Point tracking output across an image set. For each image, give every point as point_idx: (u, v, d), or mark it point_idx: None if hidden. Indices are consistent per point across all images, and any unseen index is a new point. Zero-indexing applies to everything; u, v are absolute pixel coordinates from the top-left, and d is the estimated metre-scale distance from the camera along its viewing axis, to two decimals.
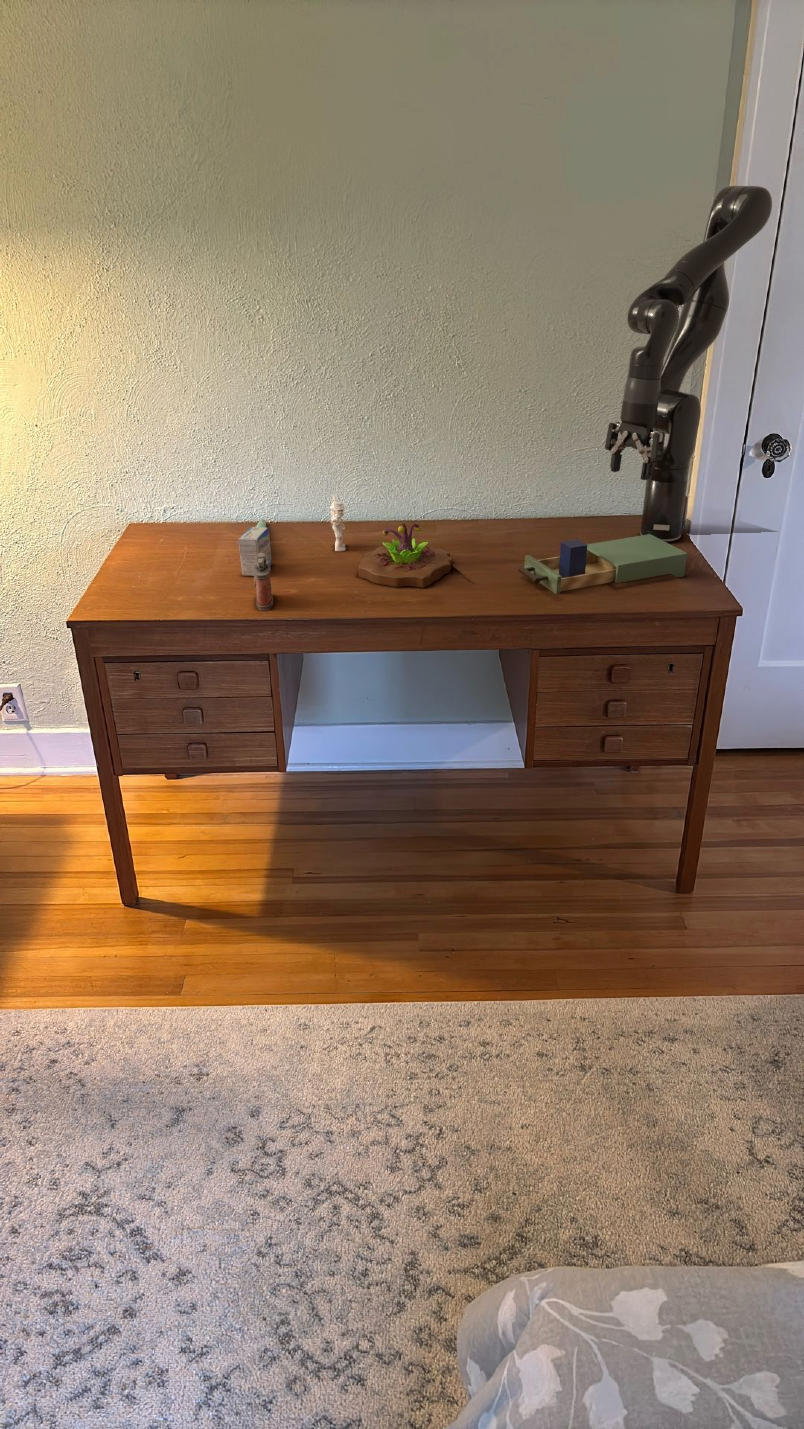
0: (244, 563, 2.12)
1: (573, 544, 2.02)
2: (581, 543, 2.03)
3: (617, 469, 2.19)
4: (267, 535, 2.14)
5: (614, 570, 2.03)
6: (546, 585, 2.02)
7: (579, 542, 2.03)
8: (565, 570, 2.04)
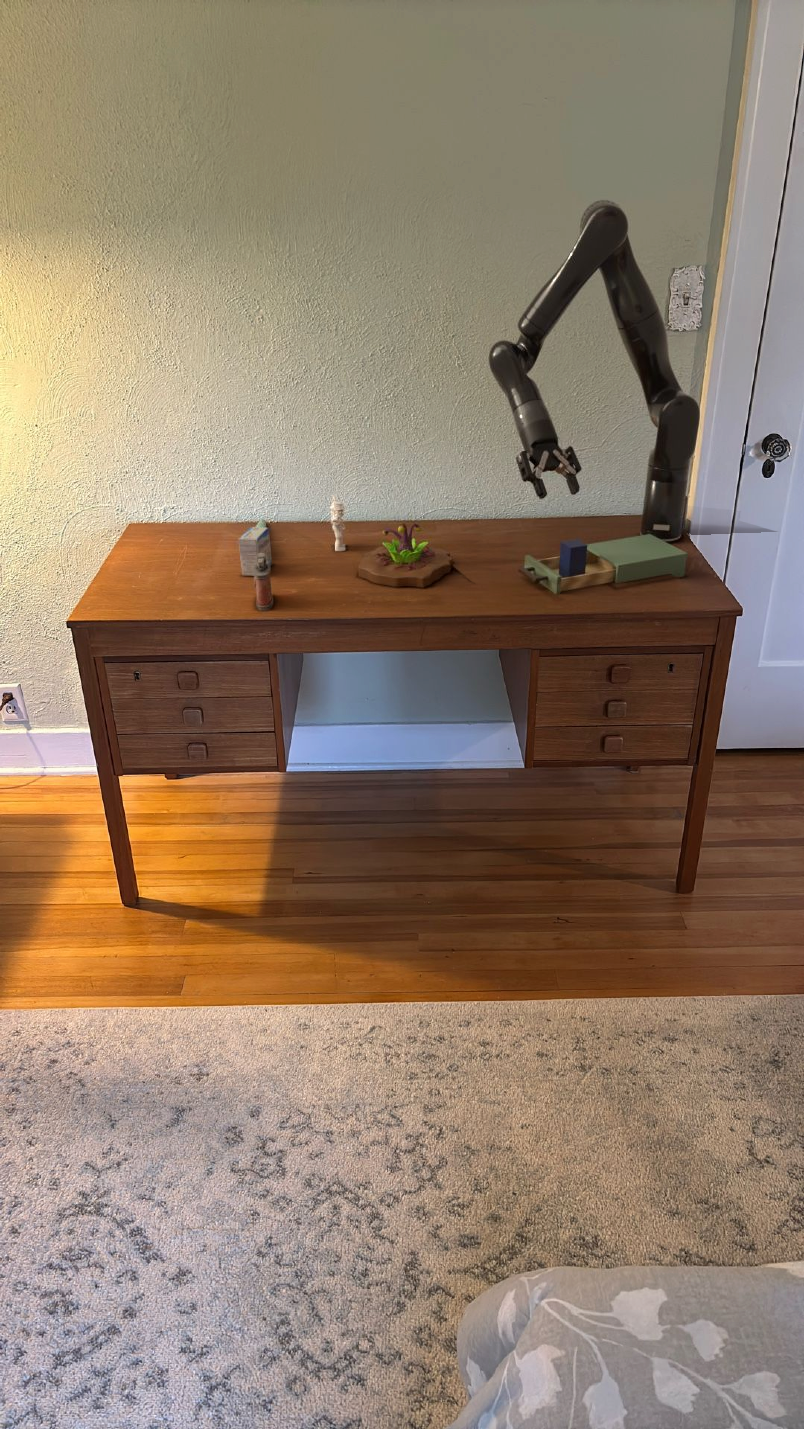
0: (244, 563, 2.12)
1: (573, 544, 2.02)
2: (581, 543, 2.03)
3: (574, 490, 2.10)
4: (267, 535, 2.14)
5: (614, 570, 2.03)
6: (546, 585, 2.02)
7: (579, 542, 2.03)
8: (565, 570, 2.04)
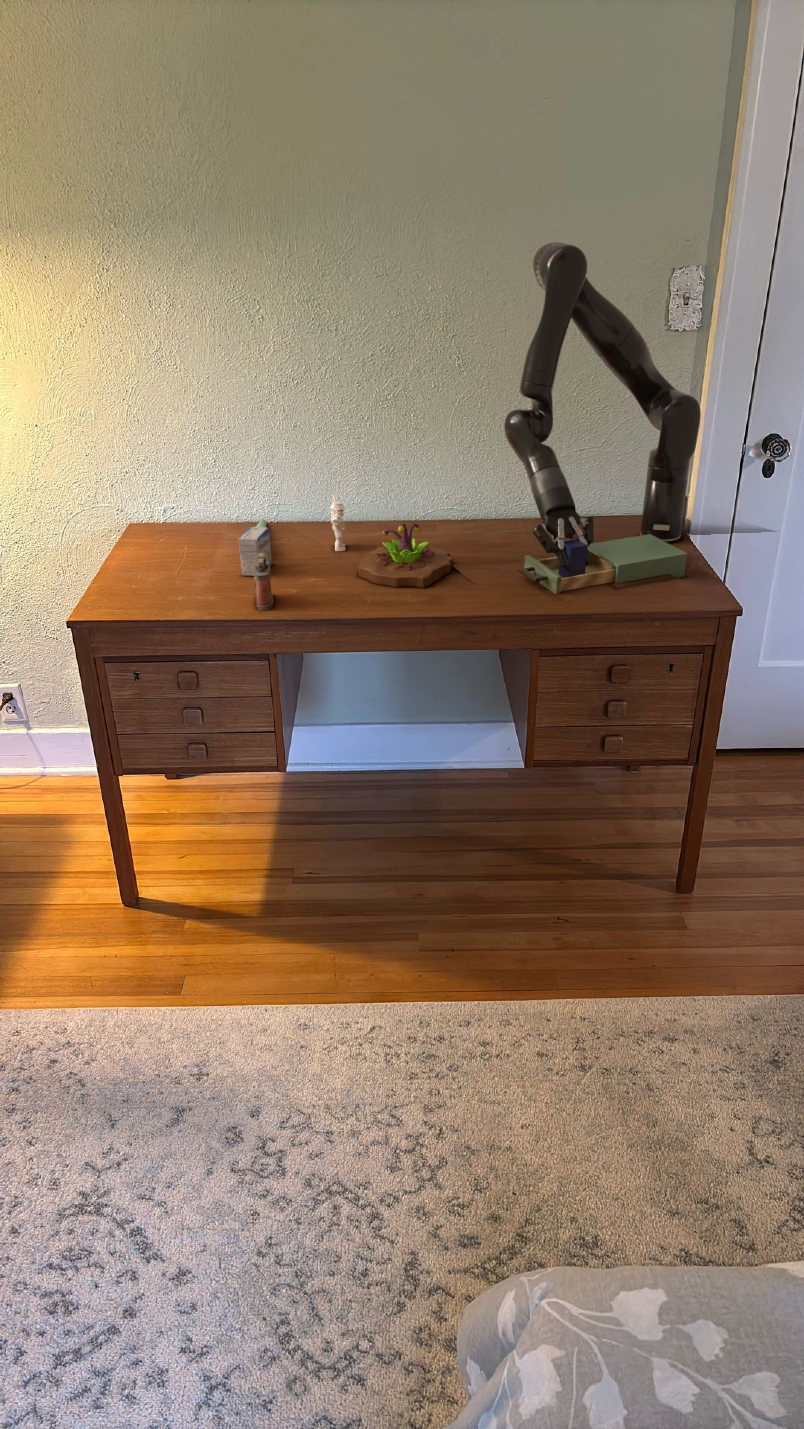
0: (244, 563, 2.12)
1: (573, 544, 2.02)
2: (581, 543, 2.03)
3: None
4: (267, 535, 2.14)
5: (614, 570, 2.03)
6: (546, 585, 2.02)
7: (579, 542, 2.03)
8: (565, 570, 2.04)
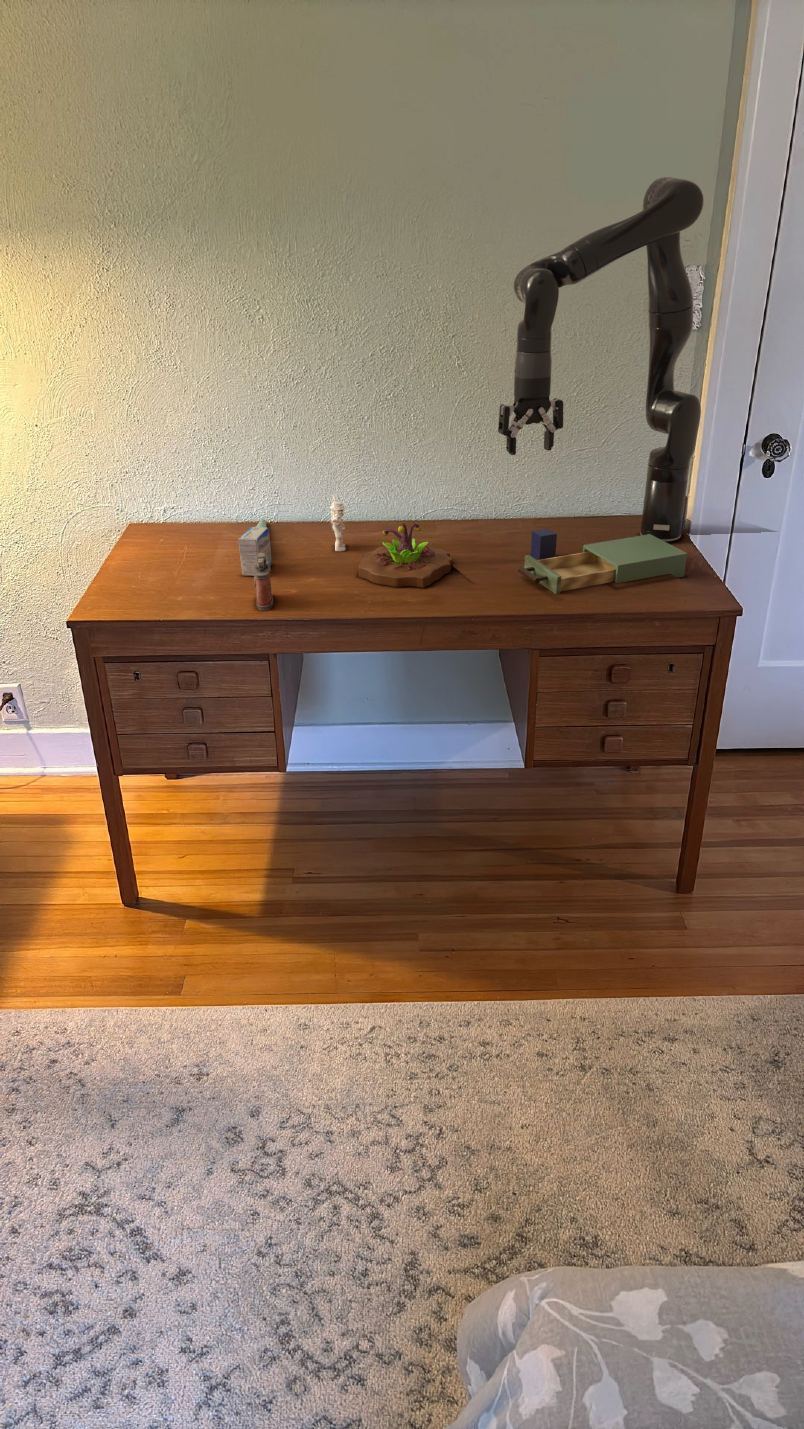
0: (244, 563, 2.12)
1: (543, 533, 2.13)
2: (551, 532, 2.13)
3: (546, 448, 2.10)
4: (267, 535, 2.14)
5: (614, 570, 2.03)
6: (546, 585, 2.02)
7: (549, 531, 2.14)
8: (536, 558, 2.15)
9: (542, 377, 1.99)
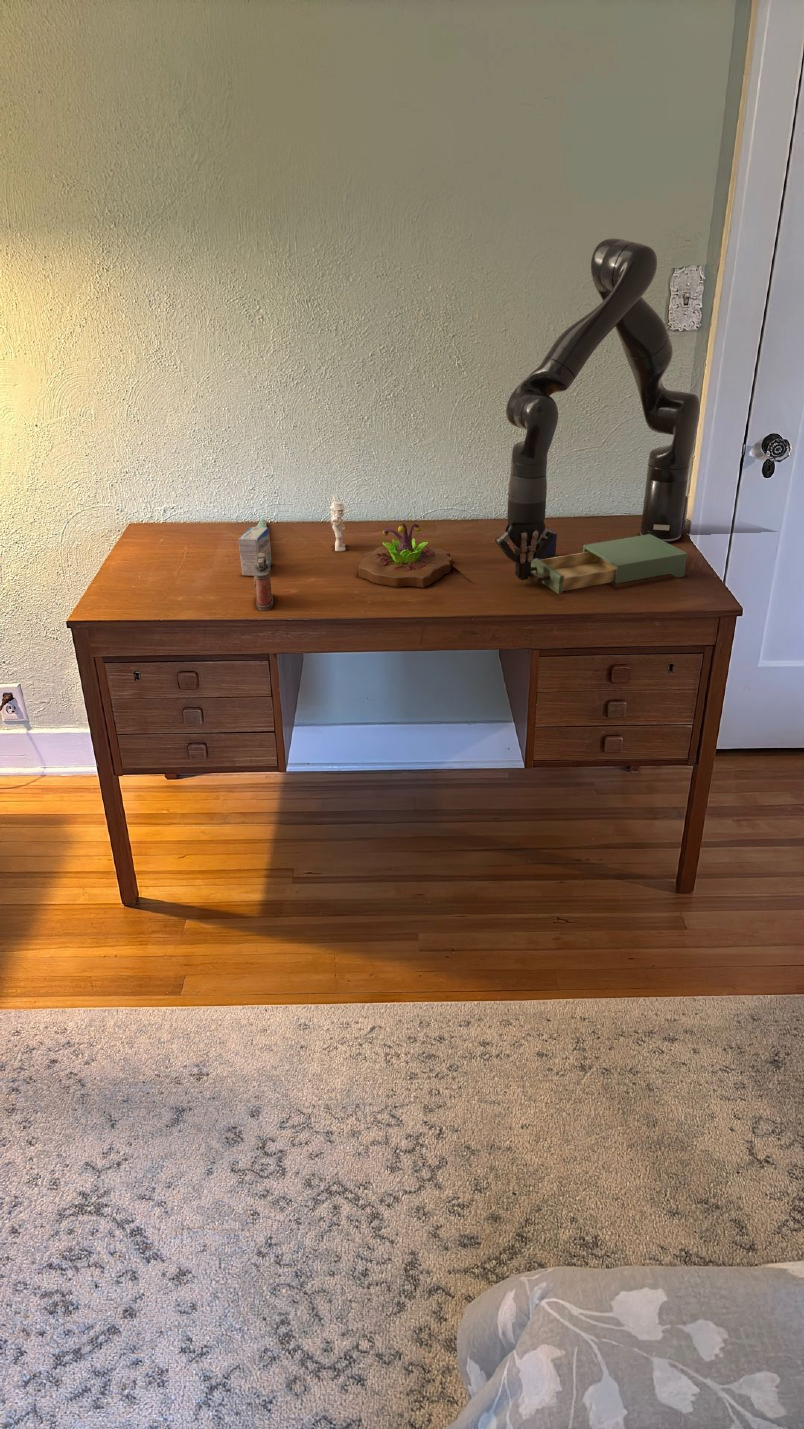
0: (244, 563, 2.12)
1: None
2: None
3: None
4: (267, 535, 2.14)
5: None
6: (548, 585, 2.02)
7: None
8: None
9: (537, 502, 1.91)
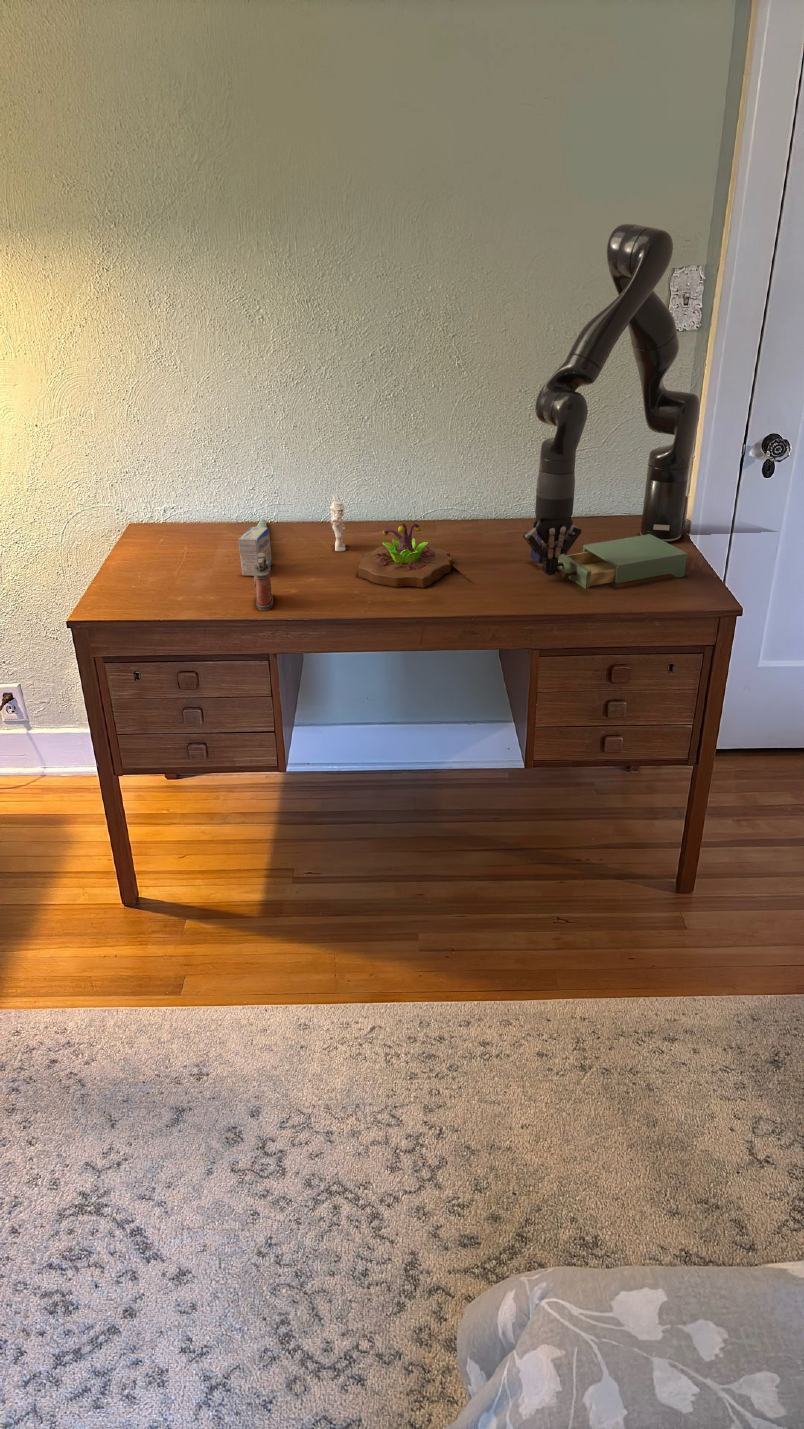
0: (244, 563, 2.12)
1: None
2: None
3: None
4: (267, 535, 2.14)
5: None
6: (575, 580, 2.04)
7: None
8: (536, 558, 2.15)
9: (565, 498, 1.93)
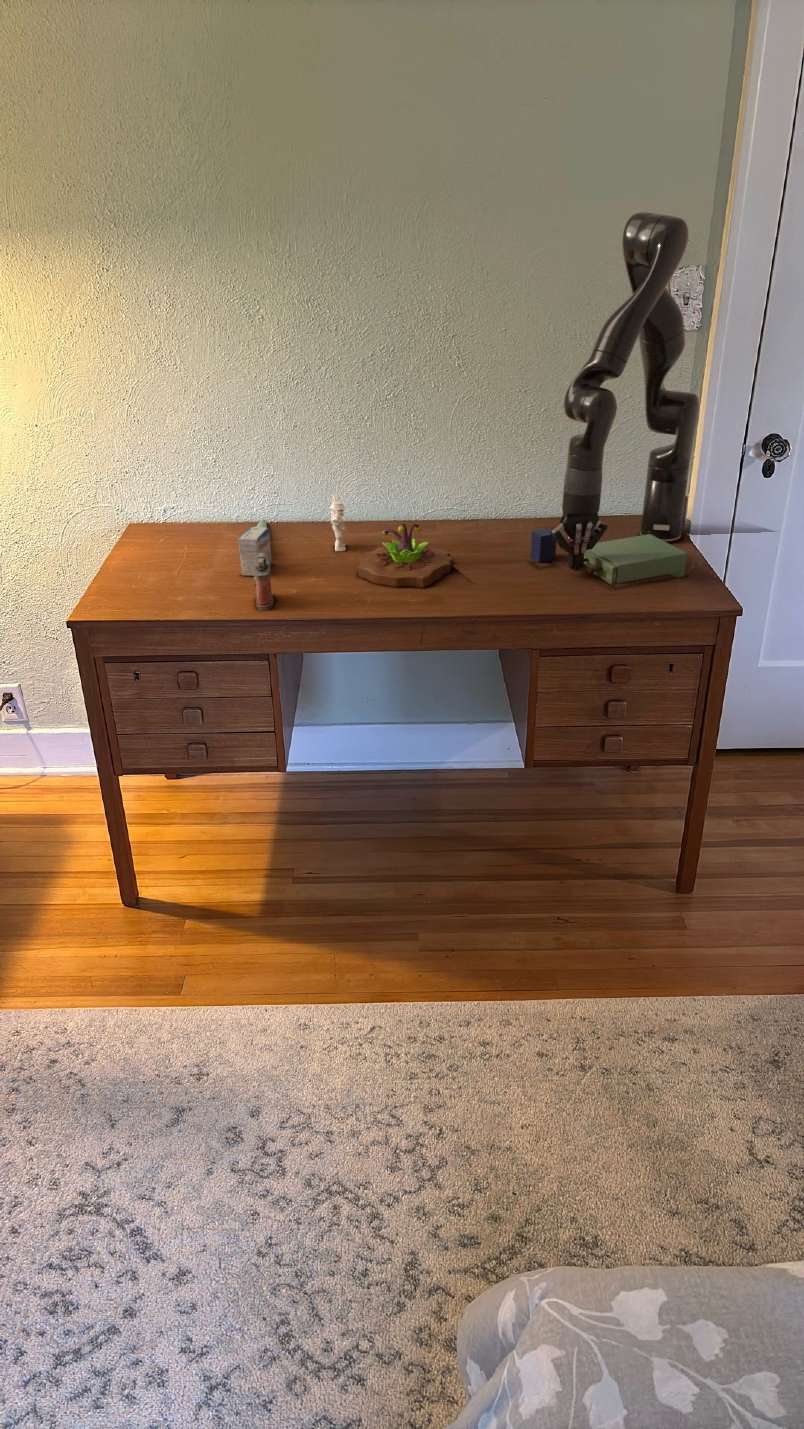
0: (244, 563, 2.12)
1: (543, 533, 2.13)
2: None
3: None
4: (267, 535, 2.14)
5: None
6: (600, 575, 2.06)
7: (549, 531, 2.14)
8: (536, 558, 2.15)
9: (593, 494, 1.95)
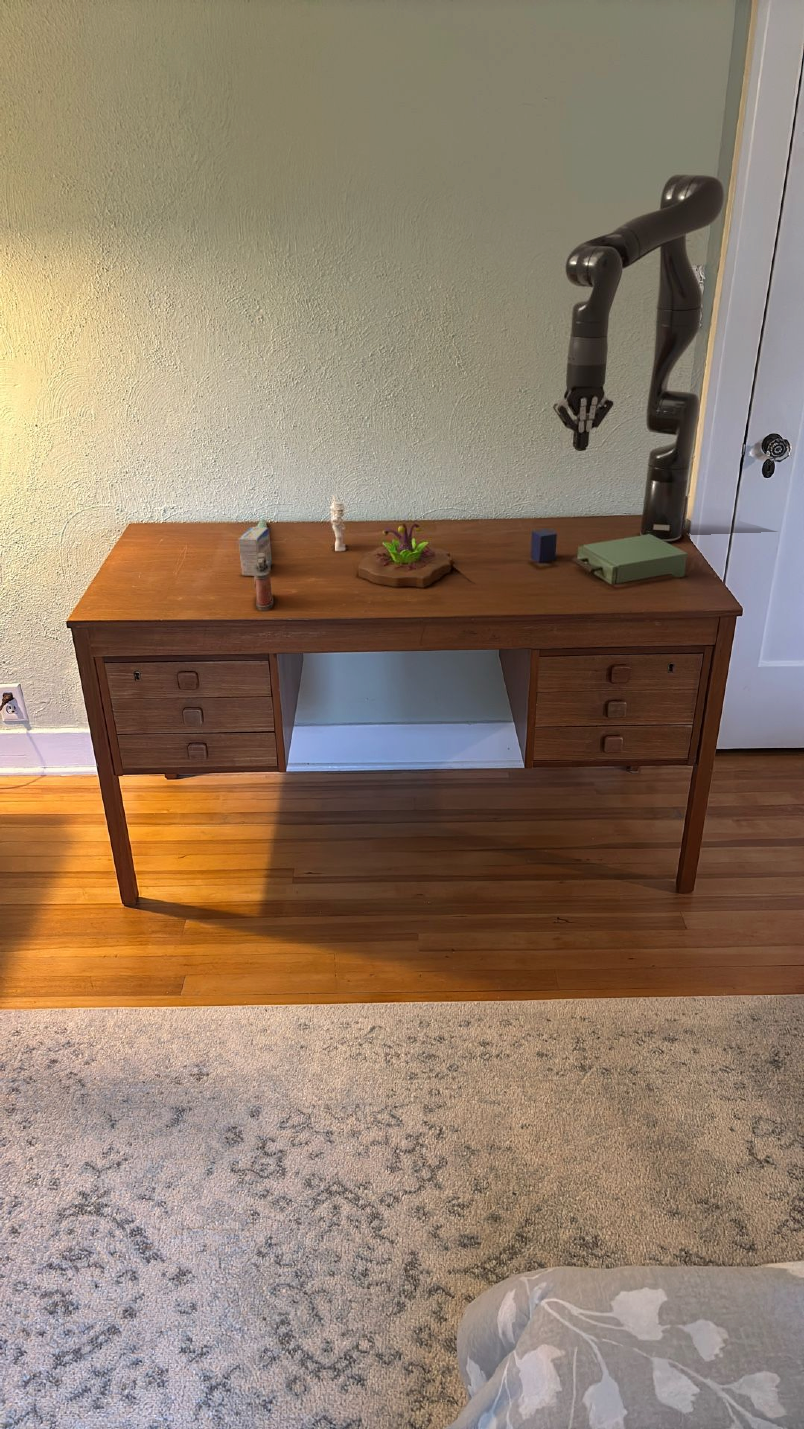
0: (244, 563, 2.12)
1: (543, 533, 2.13)
2: (551, 532, 2.13)
3: None
4: (267, 535, 2.14)
5: None
6: (600, 575, 2.06)
7: (549, 531, 2.14)
8: (536, 558, 2.15)
9: (598, 364, 1.86)
